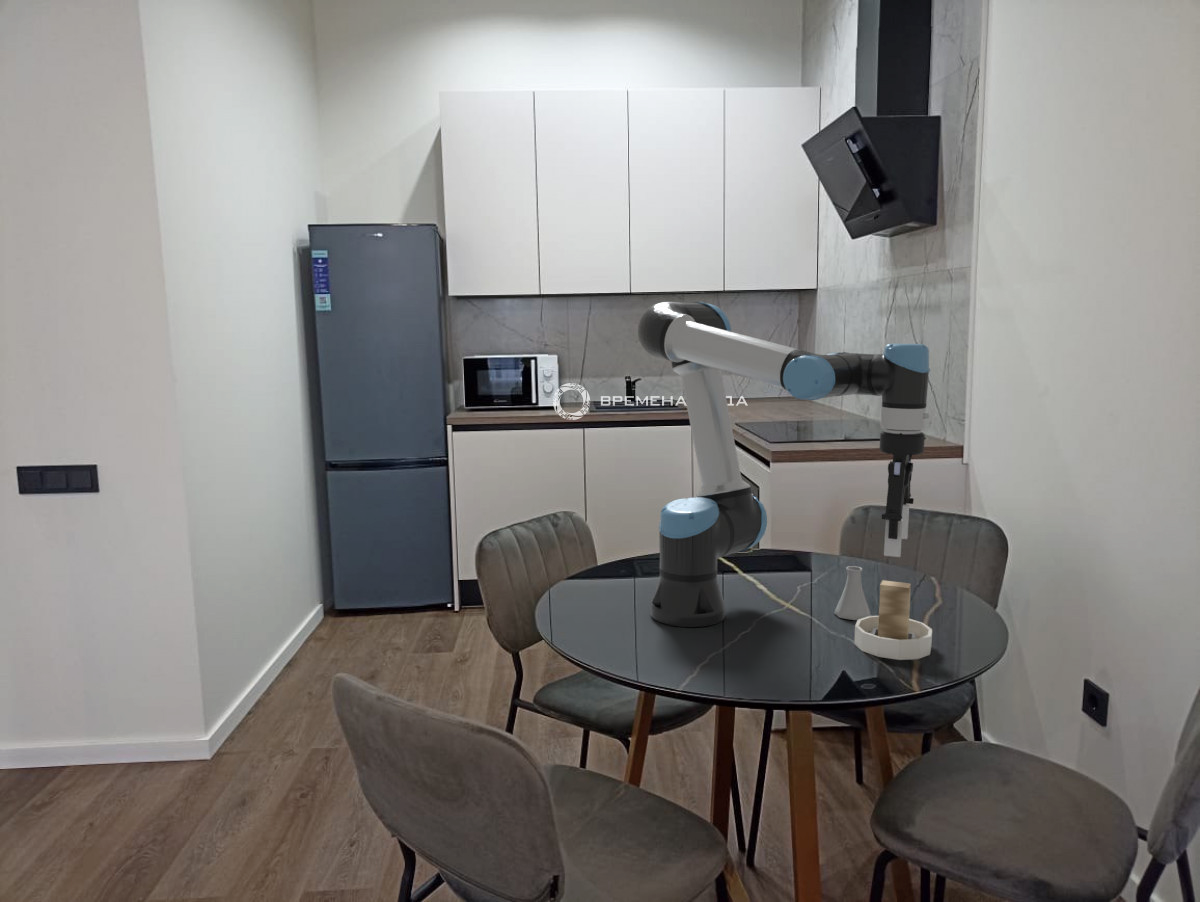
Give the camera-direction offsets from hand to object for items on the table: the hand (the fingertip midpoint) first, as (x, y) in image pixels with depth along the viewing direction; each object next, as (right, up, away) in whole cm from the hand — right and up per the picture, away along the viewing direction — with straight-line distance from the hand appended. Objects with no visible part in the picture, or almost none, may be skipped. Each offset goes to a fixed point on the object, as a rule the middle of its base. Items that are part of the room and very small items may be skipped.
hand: (896, 546), depth 158 cm
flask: (-2, -16, +19) cm, 25 cm away
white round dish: (0, -19, +2) cm, 19 cm away
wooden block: (0, -18, +2) cm, 18 cm away
